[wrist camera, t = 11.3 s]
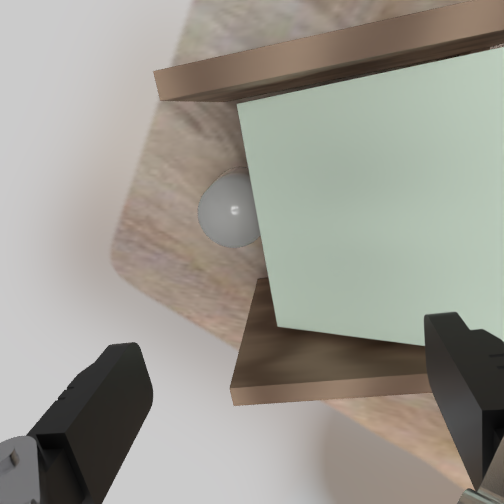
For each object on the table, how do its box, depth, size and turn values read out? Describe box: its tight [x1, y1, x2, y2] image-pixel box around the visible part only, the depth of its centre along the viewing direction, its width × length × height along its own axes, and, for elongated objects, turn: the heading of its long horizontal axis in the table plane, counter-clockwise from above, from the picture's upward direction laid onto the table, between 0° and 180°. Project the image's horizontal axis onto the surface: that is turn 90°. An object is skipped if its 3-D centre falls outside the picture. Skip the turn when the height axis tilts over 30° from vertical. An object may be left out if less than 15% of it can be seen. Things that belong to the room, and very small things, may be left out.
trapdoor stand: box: [154, 0, 504, 406], centre depth 25 cm, size 18×18×15 cm
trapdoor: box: [237, 47, 504, 346], centre depth 20 cm, size 21×14×3 cm, turn 100°
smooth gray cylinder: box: [198, 167, 261, 248], centre depth 31 cm, size 5×5×6 cm
